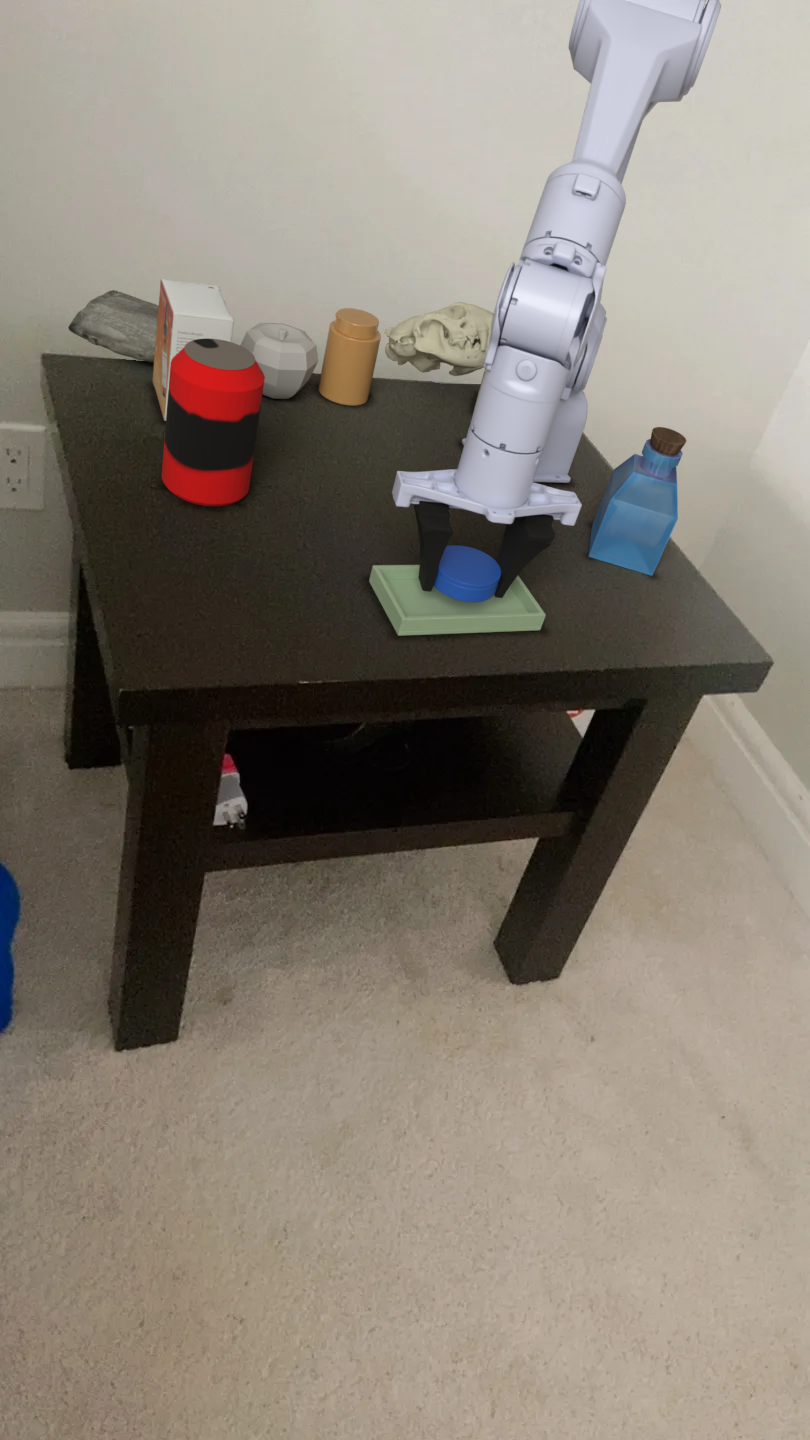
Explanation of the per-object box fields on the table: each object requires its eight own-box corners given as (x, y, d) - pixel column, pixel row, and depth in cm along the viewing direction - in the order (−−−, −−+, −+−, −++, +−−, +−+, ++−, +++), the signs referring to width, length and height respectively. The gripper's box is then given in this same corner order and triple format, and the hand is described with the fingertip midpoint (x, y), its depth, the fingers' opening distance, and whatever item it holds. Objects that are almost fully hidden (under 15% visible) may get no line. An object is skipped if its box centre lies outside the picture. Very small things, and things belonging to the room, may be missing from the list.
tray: (505, 579, 91) (510, 563, 90) (540, 630, 87) (546, 614, 86) (368, 581, 86) (372, 565, 85) (397, 635, 82) (402, 619, 81)
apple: (327, 401, 110) (338, 340, 105) (272, 415, 104) (281, 352, 100) (275, 369, 113) (284, 308, 109) (219, 381, 108) (226, 318, 103)
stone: (243, 358, 113) (118, 321, 115) (246, 320, 111) (119, 284, 113) (196, 386, 104) (63, 347, 107) (198, 346, 102) (62, 307, 104)
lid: (424, 592, 83) (429, 574, 82) (430, 555, 87) (435, 538, 86) (494, 609, 83) (499, 591, 82) (497, 572, 87) (502, 555, 86)
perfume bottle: (652, 575, 98) (703, 460, 90) (588, 556, 98) (634, 439, 90) (652, 544, 102) (702, 432, 95) (592, 525, 102) (636, 412, 95)
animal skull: (366, 377, 118) (370, 309, 118) (417, 400, 125) (421, 335, 125) (471, 350, 108) (475, 275, 108) (520, 376, 115) (525, 306, 115)
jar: (356, 382, 115) (371, 307, 110) (375, 406, 112) (392, 329, 107) (311, 381, 113) (324, 304, 108) (329, 405, 110) (343, 326, 104)
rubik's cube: (521, 424, 116) (536, 377, 113) (473, 411, 116) (487, 363, 113) (524, 405, 121) (538, 359, 117) (478, 392, 120) (491, 346, 117)
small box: (151, 383, 104) (159, 276, 98) (208, 387, 106) (219, 283, 100) (162, 422, 99) (171, 312, 92) (221, 426, 101) (234, 318, 94)
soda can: (216, 457, 96) (231, 329, 88) (265, 498, 93) (285, 369, 85) (144, 471, 91) (153, 338, 84) (193, 515, 88) (207, 380, 80)
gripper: (422, 449, 72) (381, 609, 80) (614, 473, 76) (555, 623, 84) (405, 402, 77) (368, 558, 85) (585, 427, 81) (533, 573, 89)
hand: (460, 587), depth 85 cm, fingers closed on lid, 5 cm apart
